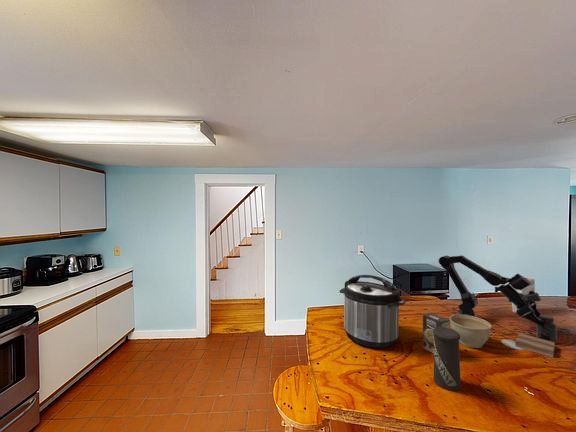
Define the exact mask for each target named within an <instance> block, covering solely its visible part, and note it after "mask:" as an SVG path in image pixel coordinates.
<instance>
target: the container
mask: <svg viewBox="0 0 576 432" xmlns="http://www.w3.org/2000/svg"><path fill="white" fill-rule="evenodd" d="M433 334H434V354H433V381H434V383H435V384H436V385H437V386H439V387H440V388H441V389H445V390H448V391H452V392H453V391H454V392H455V391H459V390H460V389H461V387H462V386H461V383H462V382H461V364H460V363H461V359H460V342H459V340H460V334H459V333H458V332H457V331H455V330H453V329H452V328H451V327H450V328H446V327H436V328H434V329H433Z"/></svg>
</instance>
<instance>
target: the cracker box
mask: <svg viewBox="0 0 576 432" xmlns="http://www.w3.org/2000/svg"><path fill="white" fill-rule="evenodd" d="M525 278H526V279H527V280H529V281H530V283H531V285H529V286H527V287H526V288H524V289H522V290H519V289H518V290H516V289H515V290H516V291H517V292H518V293H522V294H523V295H526V294H529V291H534V292H535V293H536V289H535V278H529V277H525ZM533 304H535V303H533ZM516 307H517V306H516V305H514V304H513V303H512V302H511V312H512V313H513V314H514V313H515V314H516V310H517V308H516Z"/></svg>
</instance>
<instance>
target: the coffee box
mask: <svg viewBox="0 0 576 432" xmlns="http://www.w3.org/2000/svg"><path fill="white" fill-rule="evenodd" d="M436 327H446V328H450V329H451V323H450V318H449V319H448V318H447V317H443V316H441V315H439V314H437V313H434V312H428V313H427V312H426V313H423V314H422V348H423V349H424V350H426V351H427V352H429V351H430V353H431V352H432V353H431V354H433V355H434V334H433V329H434V328H436Z"/></svg>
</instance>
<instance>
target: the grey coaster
mask: <svg viewBox="0 0 576 432" xmlns="http://www.w3.org/2000/svg"><path fill="white" fill-rule="evenodd" d="M515 341H516V340H512V339H501V343H502V344H503V345H504V346H507V347H509V348H511V349H514V350H519V351H524V350H525V351H527V350H526V349H523V348H519V347H516V344H515Z"/></svg>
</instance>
